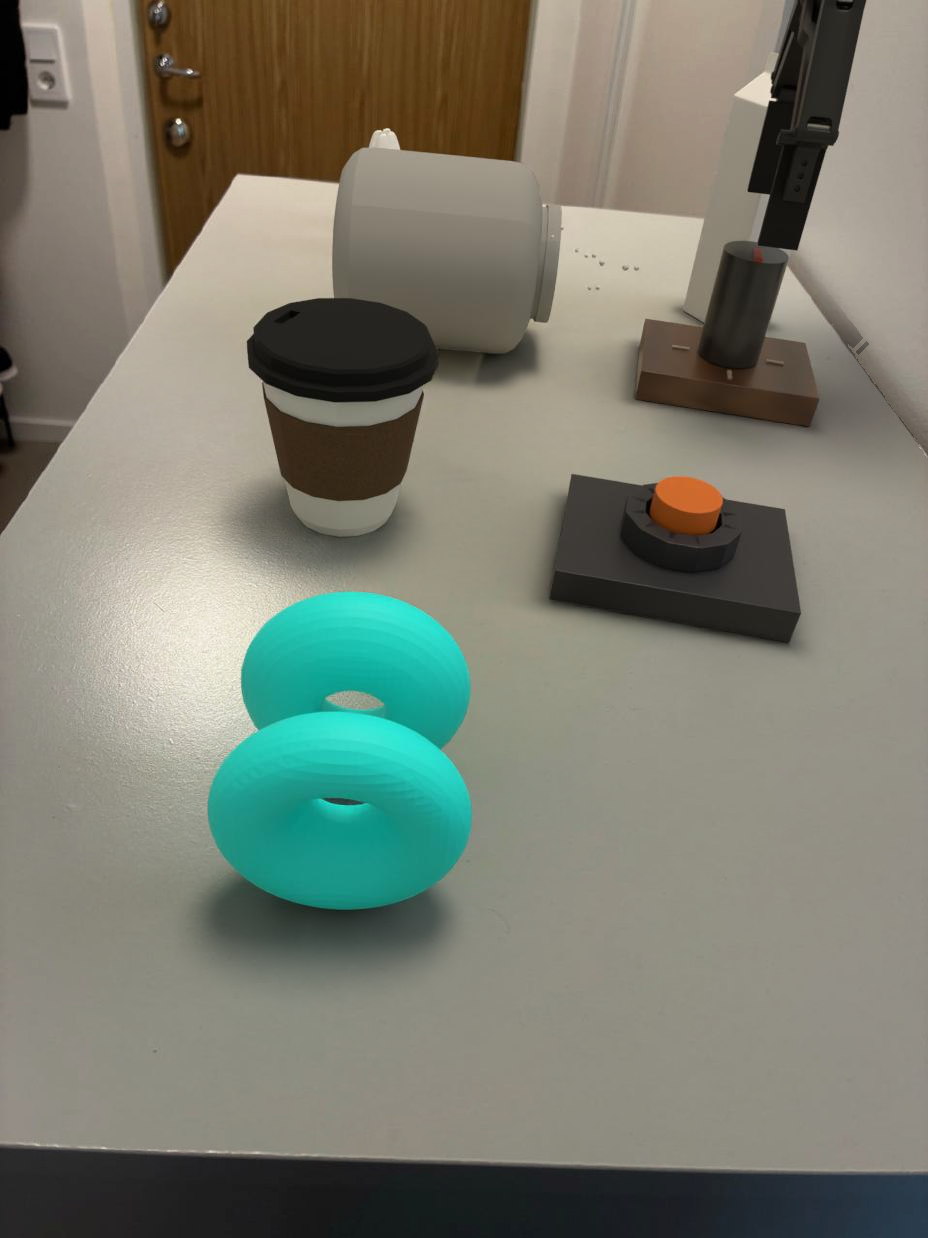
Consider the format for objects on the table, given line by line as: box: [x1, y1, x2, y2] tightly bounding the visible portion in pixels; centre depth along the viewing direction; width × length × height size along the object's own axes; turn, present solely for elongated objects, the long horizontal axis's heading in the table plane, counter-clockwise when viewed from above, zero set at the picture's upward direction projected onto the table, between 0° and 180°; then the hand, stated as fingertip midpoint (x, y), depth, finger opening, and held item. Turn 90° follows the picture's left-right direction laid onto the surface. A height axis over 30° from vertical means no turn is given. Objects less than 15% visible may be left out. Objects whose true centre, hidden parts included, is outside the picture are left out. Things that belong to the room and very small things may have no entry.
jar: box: [331, 147, 640, 354], centre depth 78 cm, size 19×15×25 cm
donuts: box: [207, 590, 473, 911], centre depth 39 cm, size 10×10×10 cm
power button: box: [650, 475, 724, 536], centre depth 56 cm, size 4×4×2 cm
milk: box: [682, 51, 792, 325], centre depth 85 cm, size 6×6×22 cm
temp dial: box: [698, 241, 790, 368], centre depth 76 cm, size 5×5×9 cm
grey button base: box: [549, 473, 802, 643], centre depth 58 cm, size 14×11×4 cm
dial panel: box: [634, 318, 820, 427], centre depth 80 cm, size 14×11×3 cm
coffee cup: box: [246, 297, 440, 538], centre depth 57 cm, size 11×11×12 cm
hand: (770, 218), depth 72 cm, fingers open, 13 cm apart
